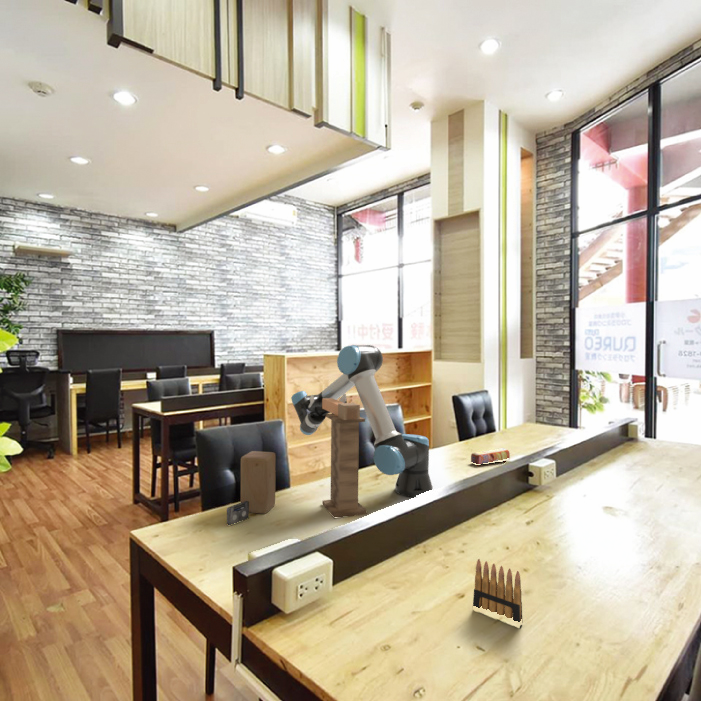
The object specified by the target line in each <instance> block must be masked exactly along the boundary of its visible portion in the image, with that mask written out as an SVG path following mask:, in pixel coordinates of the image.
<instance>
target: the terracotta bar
mask: <svg viewBox="0 0 701 701" xmlns="http://www.w3.org/2000/svg"><path fill="white" fill-rule="evenodd" d="M322 409H325V410H327V411H329V412H331V413H330V414H332V413H333V414H335V415H337V416H338V418H340V419H343V420H354V419H360V417H361V416H360V415H361V412H360V411H361V405H360V404H358V403H355V402H347V403H343V402H340V401H339V400H338V399H337V400H335V399H332V398H324V399H322Z"/></svg>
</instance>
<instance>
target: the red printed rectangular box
mask: <svg viewBox="0 0 701 701" xmlns="http://www.w3.org/2000/svg"><path fill="white" fill-rule="evenodd" d="M510 454H511V453H510V451H509V449H507V448H504V447H501V448H496V449H490V450H485V451H478V452H472V453H471V455H470V463H471V462H473V463H476V464H483V463H488V462H493V461H498V460H503V459H507V458H509V459H510V456H511V455H510Z"/></svg>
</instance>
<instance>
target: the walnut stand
mask: <svg viewBox="0 0 701 701" xmlns="http://www.w3.org/2000/svg"><path fill="white" fill-rule="evenodd" d="M326 418H327V419H328V420H331V424H330V425H331V426H330V429H331V430H330V499H325V500H324V499H323V500H322V504H323V505H322V504H321V505H322V506H323V507H324V508H325V509H326V510H327V511H328V512H330V513H331V514H332V515H333V516H334V517H341V518H344V517H343V516H348V517H354V515H356V516H362V515H367V514H368V513H367V512H368V511H367V509H366V507H364V506H363V505H362V504H361V503H360V502H359V454H360V452H359V450H360V446H359V443H360V440H359V439H360V438H359V437H360V423H364V422H366V418H364V417H361V416H360V419H354V420H343V419H340V418H338V416H337V415H335V414H332V413H328V414H326ZM330 513H329V514H330ZM331 514H330V515H331ZM332 515H331V516H332ZM333 516H332V517H333ZM334 517H333V518H334Z"/></svg>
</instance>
